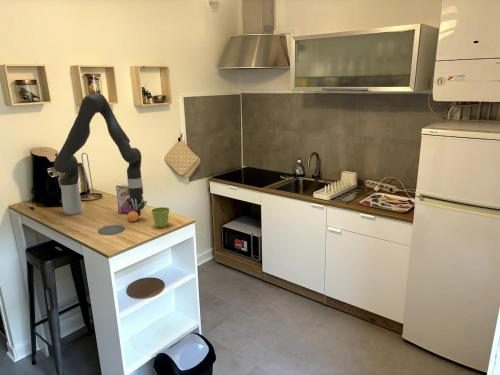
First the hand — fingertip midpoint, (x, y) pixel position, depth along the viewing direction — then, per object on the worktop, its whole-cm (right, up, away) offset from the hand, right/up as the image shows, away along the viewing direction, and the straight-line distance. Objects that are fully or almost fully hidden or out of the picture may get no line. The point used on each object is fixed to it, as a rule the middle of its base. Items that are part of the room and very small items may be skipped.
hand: (138, 216), depth 206 cm
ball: (-2, 0, -4) cm, 4 cm away
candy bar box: (-8, +1, +11) cm, 14 cm away
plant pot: (+15, -4, -10) cm, 18 cm away
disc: (-9, -6, -15) cm, 19 cm away
